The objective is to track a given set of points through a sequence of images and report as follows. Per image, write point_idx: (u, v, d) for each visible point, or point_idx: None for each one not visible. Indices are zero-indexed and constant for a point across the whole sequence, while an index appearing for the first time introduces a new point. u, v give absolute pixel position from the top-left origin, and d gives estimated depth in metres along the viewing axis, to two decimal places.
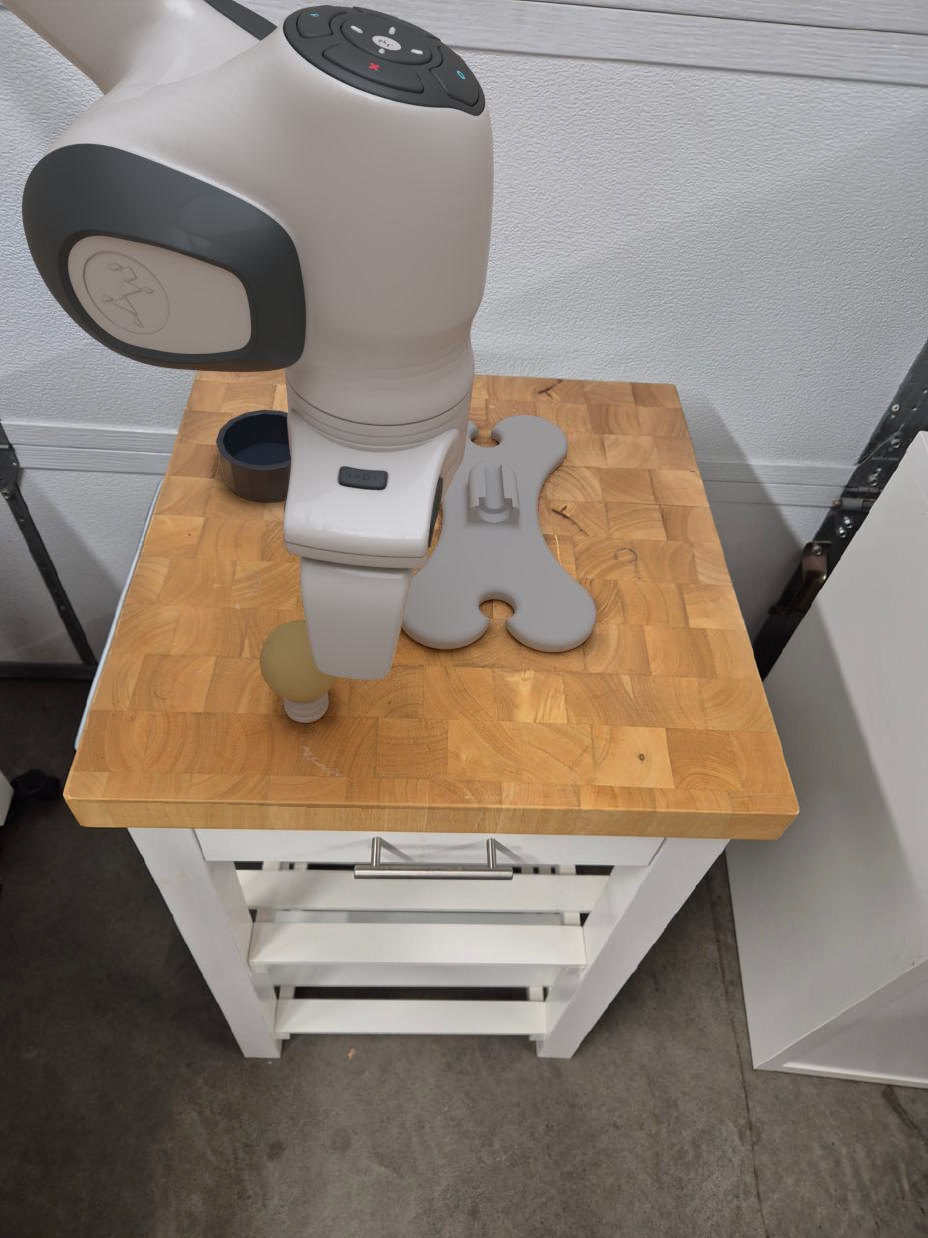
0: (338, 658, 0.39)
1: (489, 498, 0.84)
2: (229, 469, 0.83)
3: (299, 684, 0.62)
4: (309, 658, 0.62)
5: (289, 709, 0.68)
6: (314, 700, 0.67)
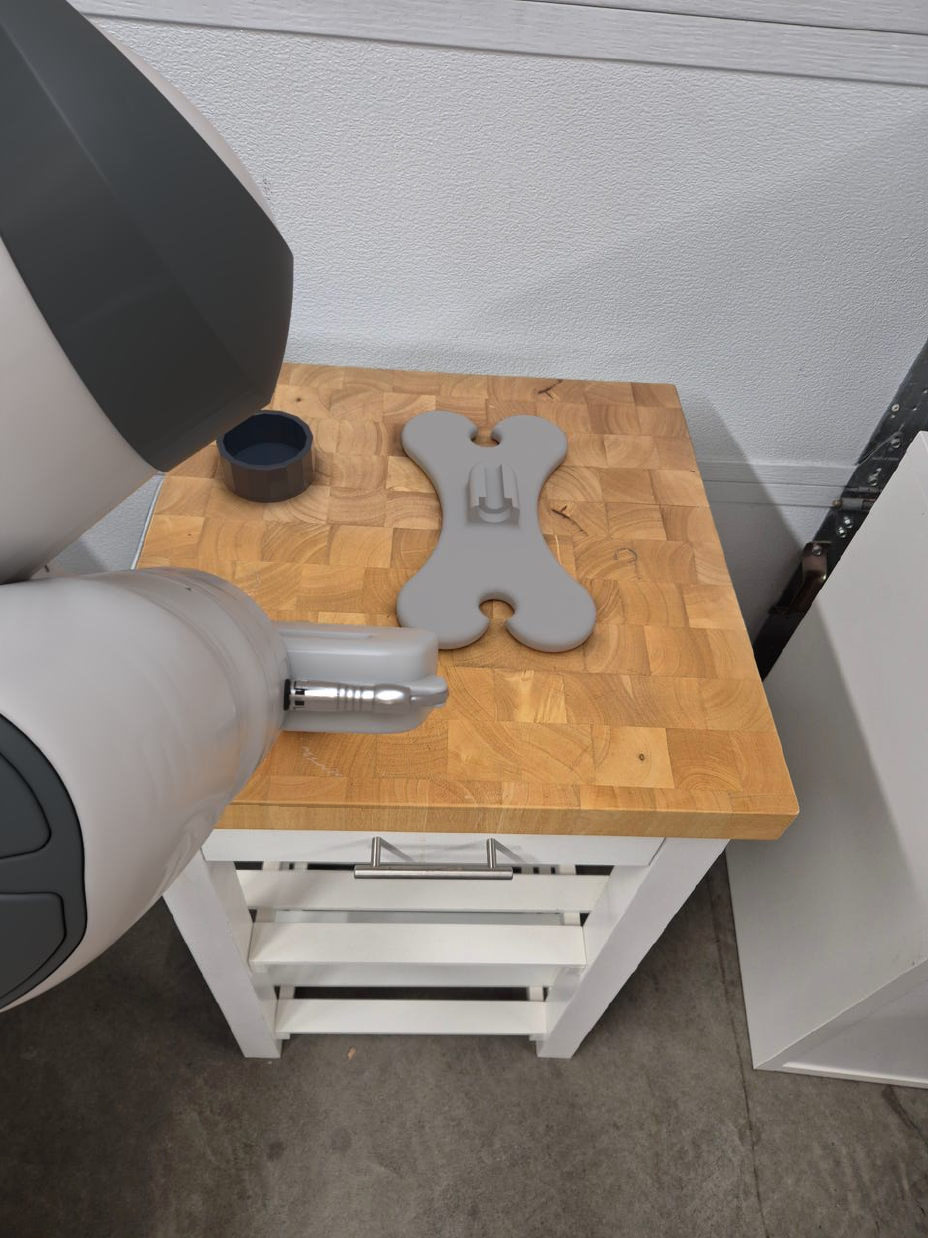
0: None
1: (489, 498, 0.84)
2: (229, 469, 0.83)
3: None
4: None
5: None
6: None
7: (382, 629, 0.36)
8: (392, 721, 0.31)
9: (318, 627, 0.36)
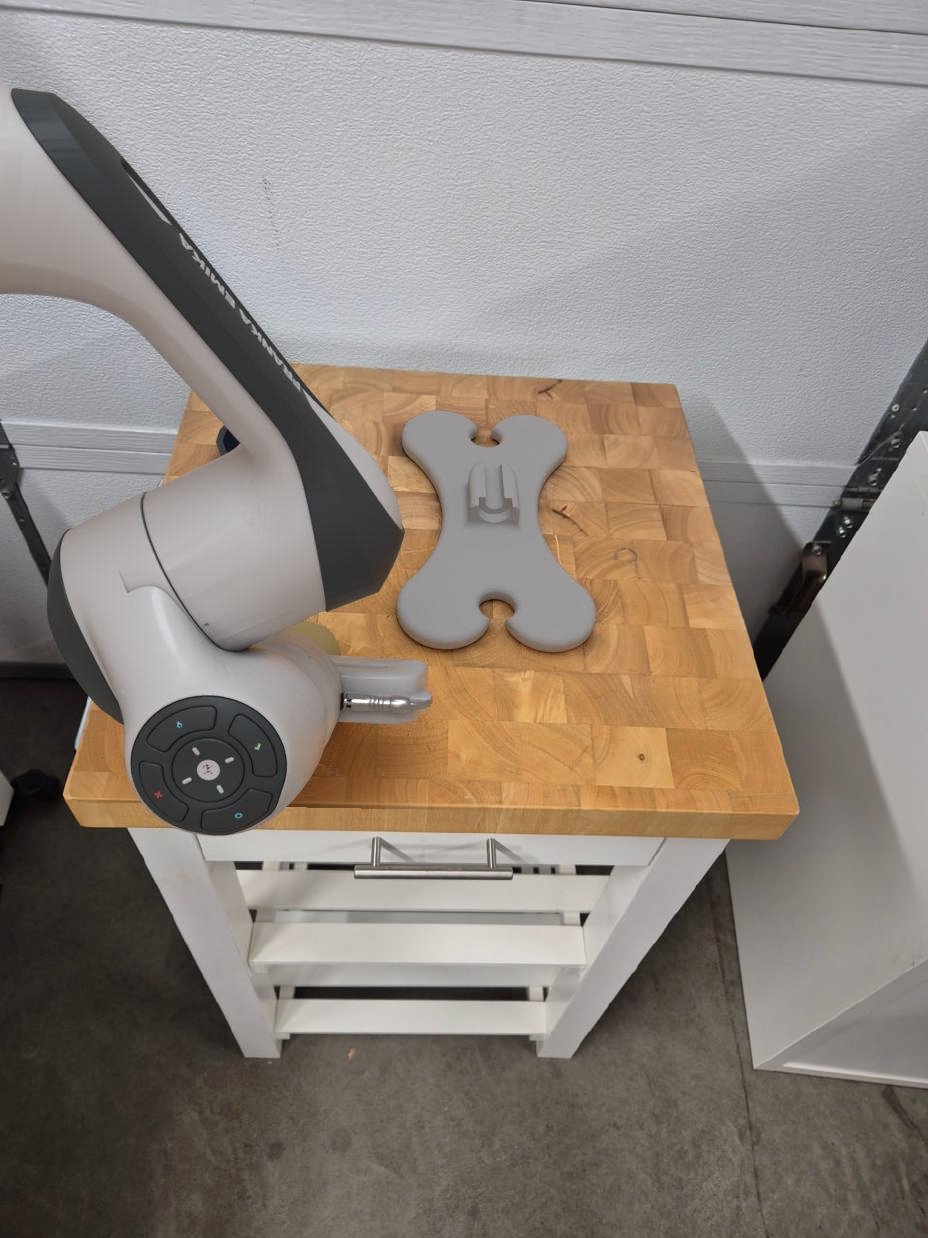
0: None
1: (489, 498, 0.84)
2: None
3: None
4: None
5: None
6: None
7: (393, 661, 0.60)
8: (399, 716, 0.55)
9: (355, 660, 0.59)
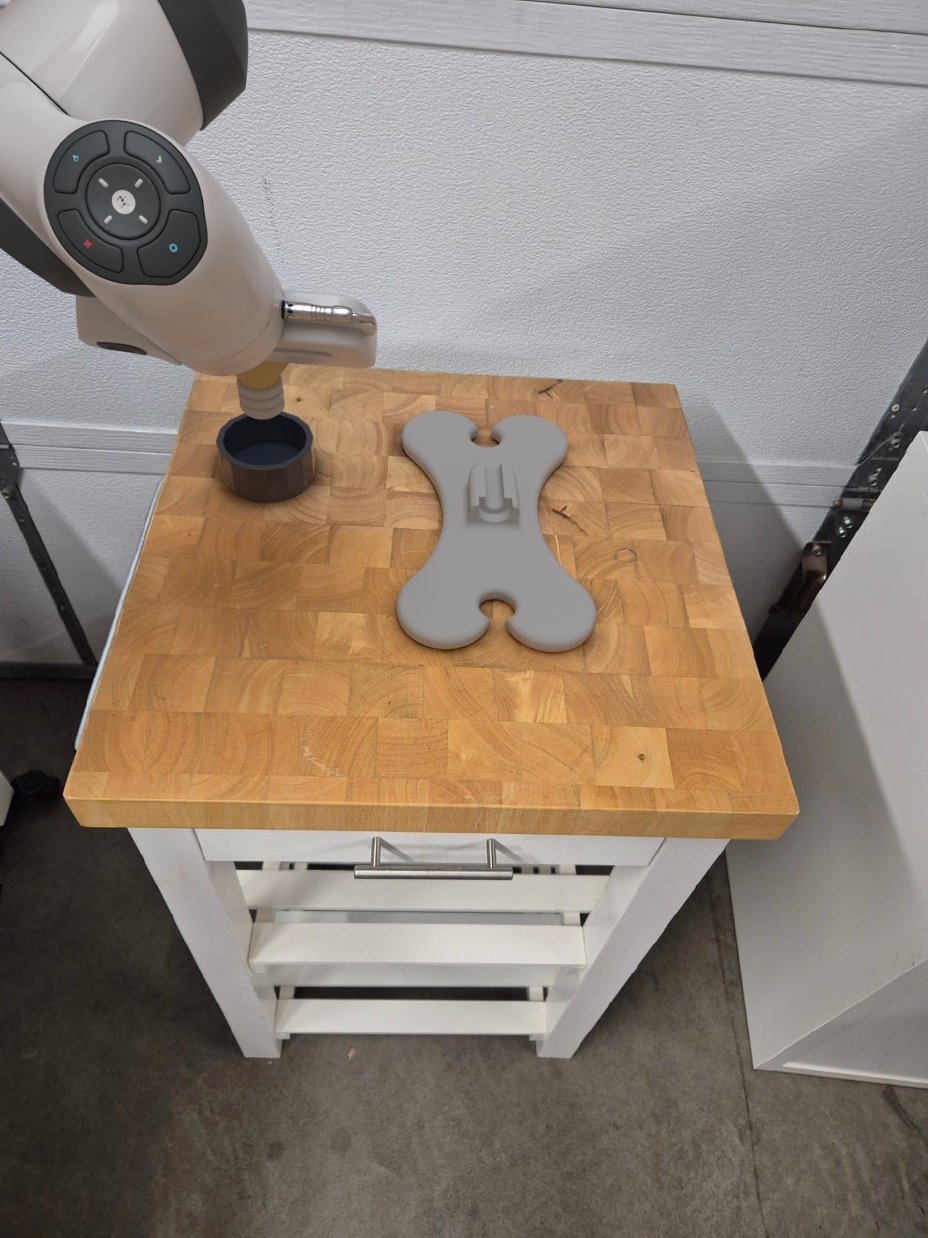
0: None
1: (489, 497, 0.84)
2: (229, 469, 0.83)
3: None
4: None
5: (244, 400, 0.68)
6: (268, 388, 0.67)
7: None
8: (343, 337, 0.55)
9: None
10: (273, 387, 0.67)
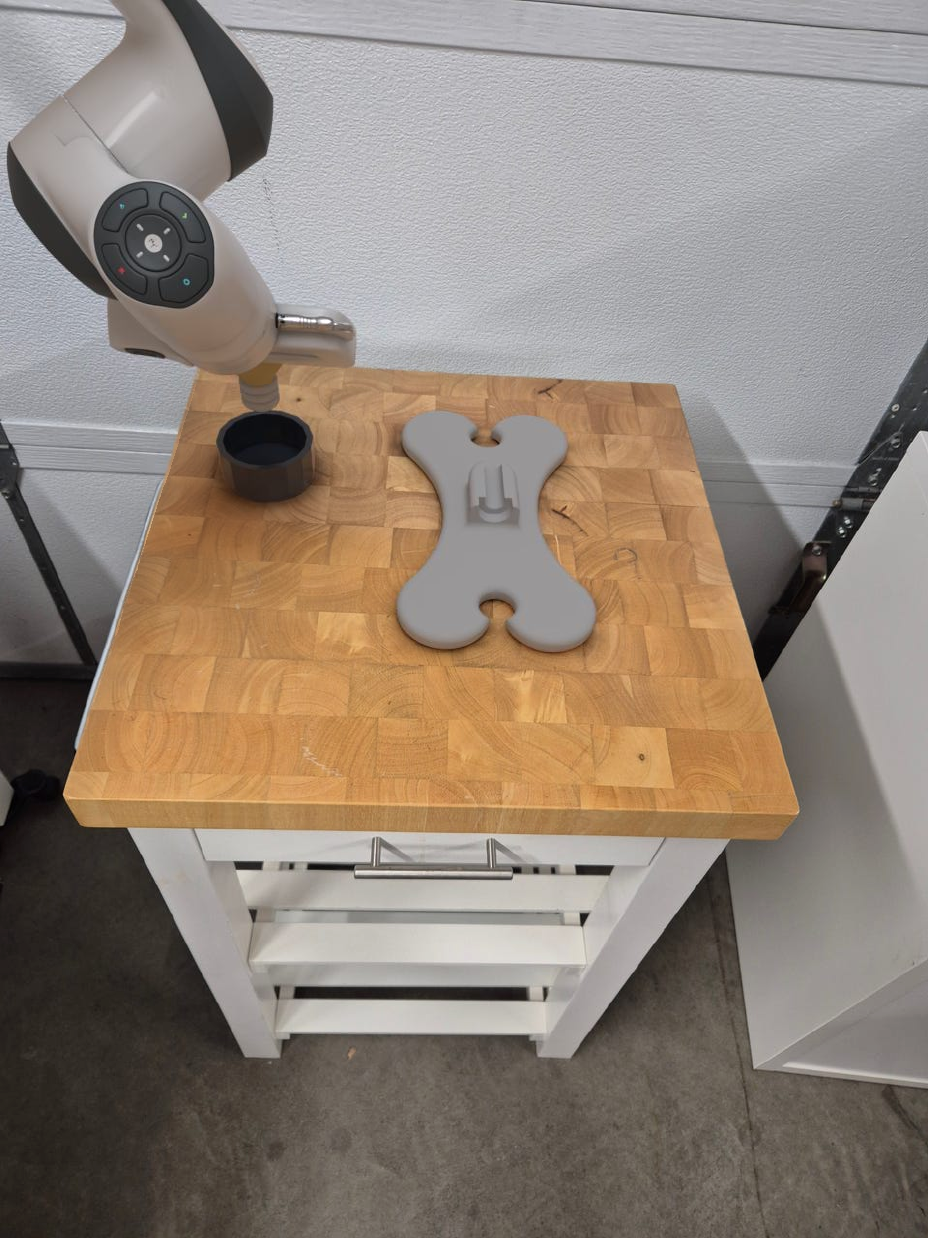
0: None
1: (489, 498, 0.84)
2: (229, 469, 0.83)
3: None
4: None
5: (245, 395, 0.79)
6: (265, 385, 0.79)
7: None
8: (326, 342, 0.67)
9: None
10: (270, 384, 0.79)
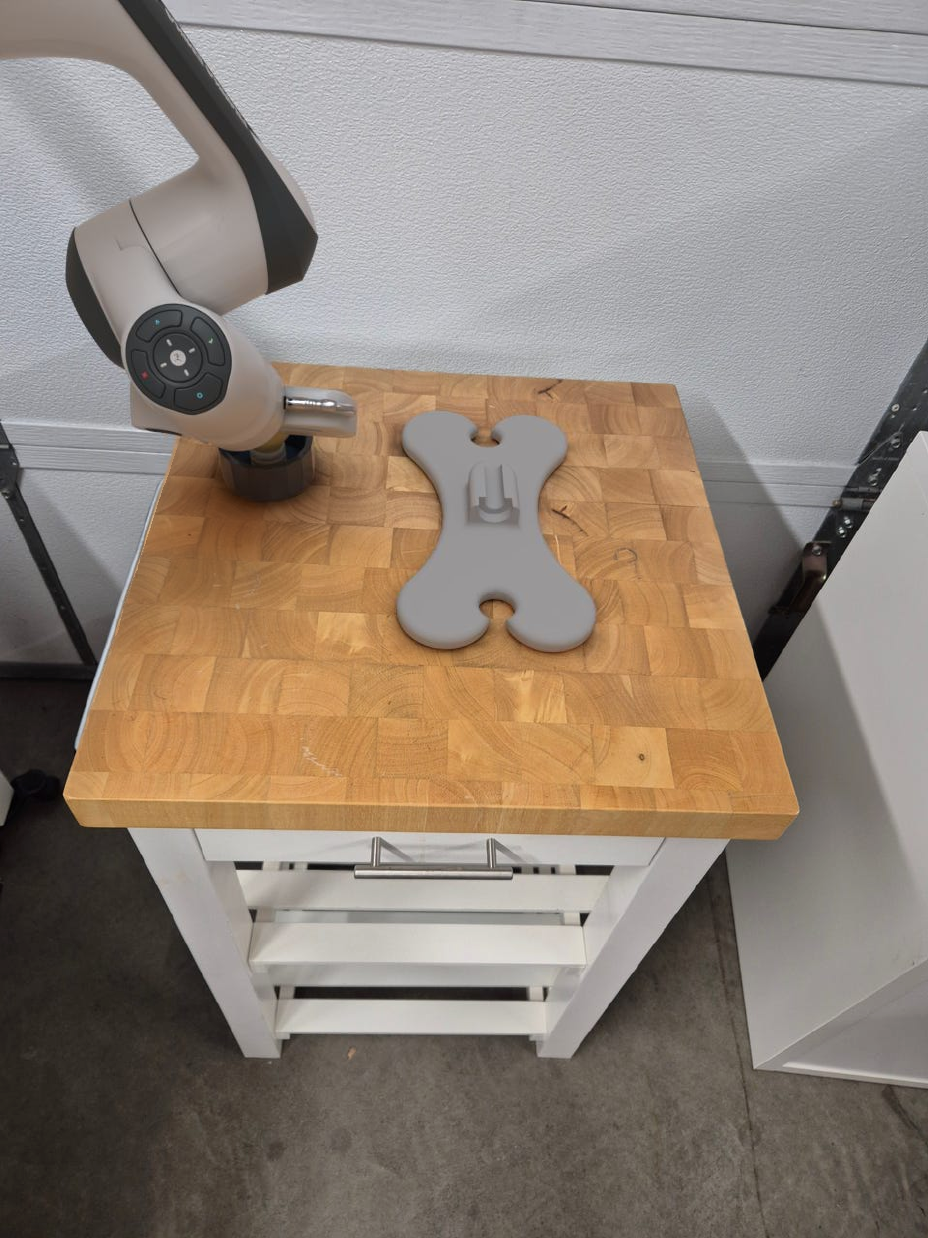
0: None
1: (489, 497, 0.84)
2: (229, 469, 0.83)
3: None
4: None
5: (255, 461, 0.86)
6: (274, 452, 0.85)
7: None
8: (330, 421, 0.73)
9: None
10: (278, 451, 0.85)
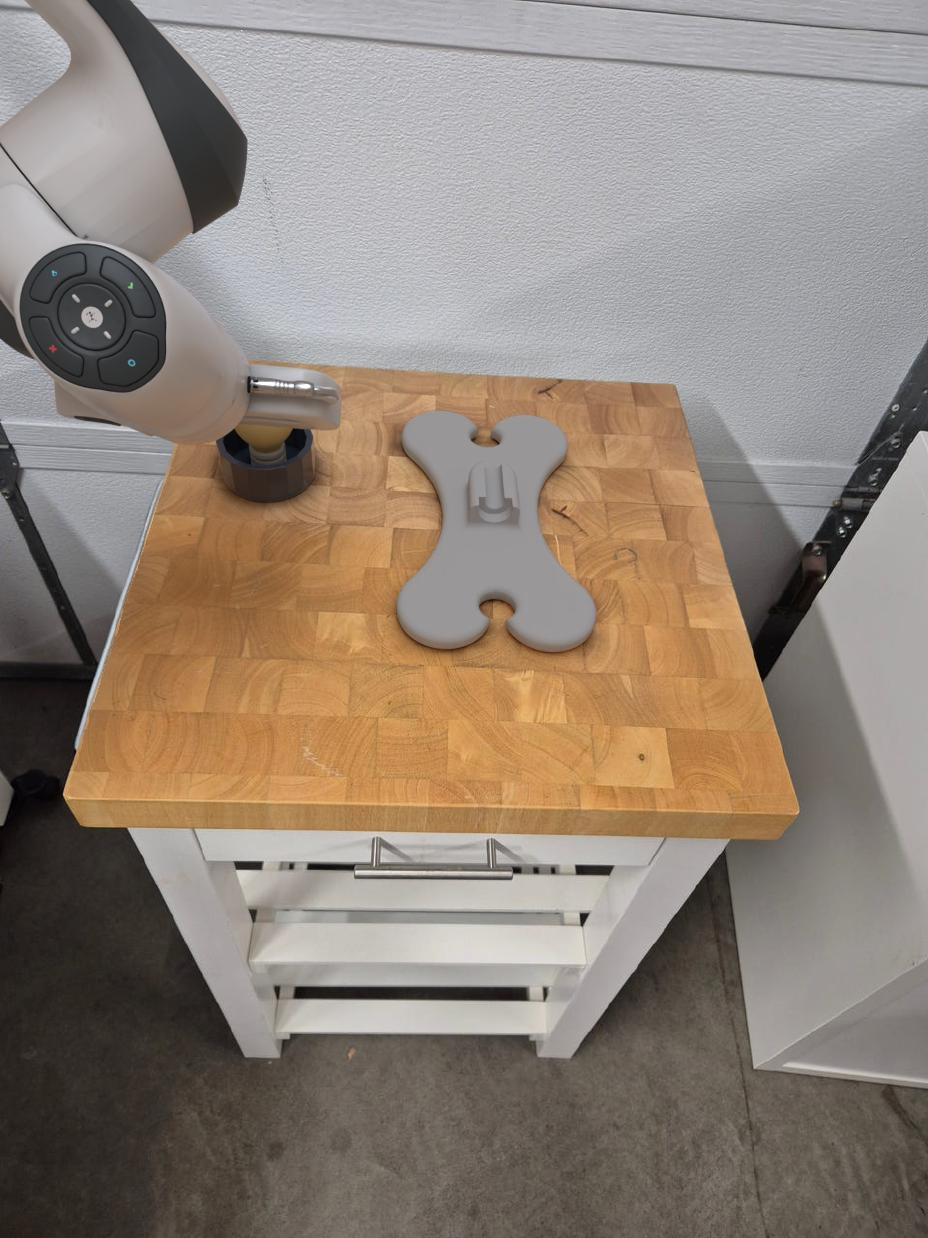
0: None
1: (489, 498, 0.84)
2: (229, 469, 0.83)
3: None
4: None
5: (255, 461, 0.86)
6: (274, 452, 0.85)
7: None
8: (306, 408, 0.59)
9: None
10: (278, 451, 0.85)
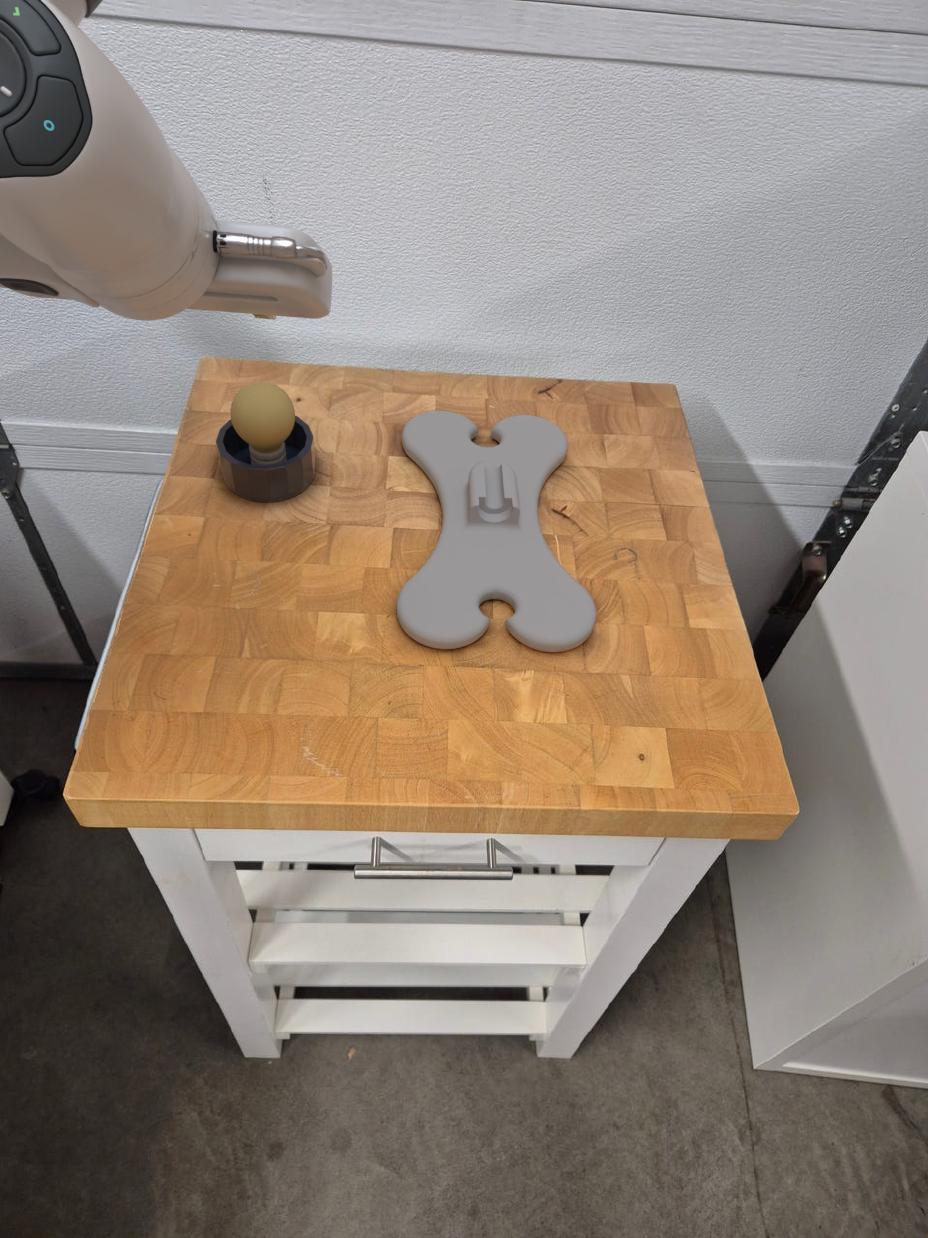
0: None
1: (489, 498, 0.84)
2: (229, 469, 0.83)
3: (260, 424, 0.80)
4: (267, 404, 0.80)
5: (255, 461, 0.86)
6: (274, 452, 0.85)
7: None
8: (287, 275, 0.48)
9: None
10: (278, 451, 0.85)
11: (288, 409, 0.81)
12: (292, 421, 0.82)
